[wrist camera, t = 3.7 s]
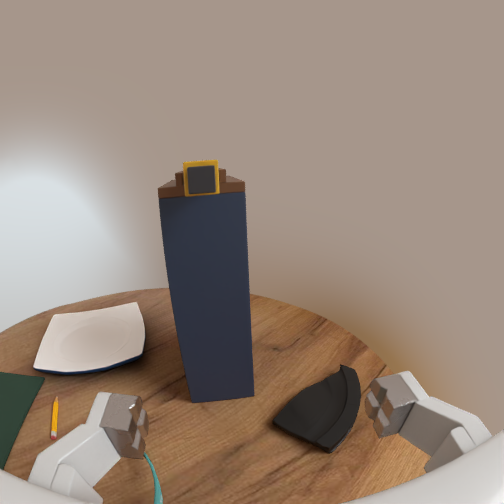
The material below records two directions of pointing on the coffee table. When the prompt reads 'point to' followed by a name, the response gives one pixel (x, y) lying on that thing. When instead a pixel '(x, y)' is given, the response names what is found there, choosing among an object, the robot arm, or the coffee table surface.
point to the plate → (92, 340)
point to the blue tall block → (210, 286)
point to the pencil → (54, 419)
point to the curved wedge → (323, 410)
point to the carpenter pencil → (201, 178)
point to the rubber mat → (14, 407)
